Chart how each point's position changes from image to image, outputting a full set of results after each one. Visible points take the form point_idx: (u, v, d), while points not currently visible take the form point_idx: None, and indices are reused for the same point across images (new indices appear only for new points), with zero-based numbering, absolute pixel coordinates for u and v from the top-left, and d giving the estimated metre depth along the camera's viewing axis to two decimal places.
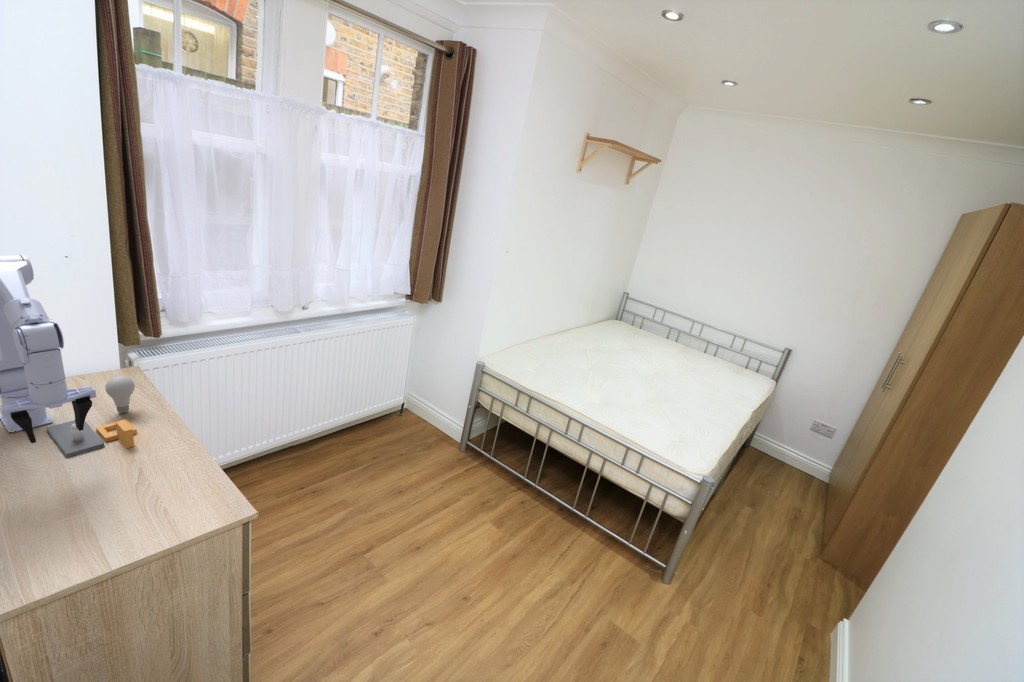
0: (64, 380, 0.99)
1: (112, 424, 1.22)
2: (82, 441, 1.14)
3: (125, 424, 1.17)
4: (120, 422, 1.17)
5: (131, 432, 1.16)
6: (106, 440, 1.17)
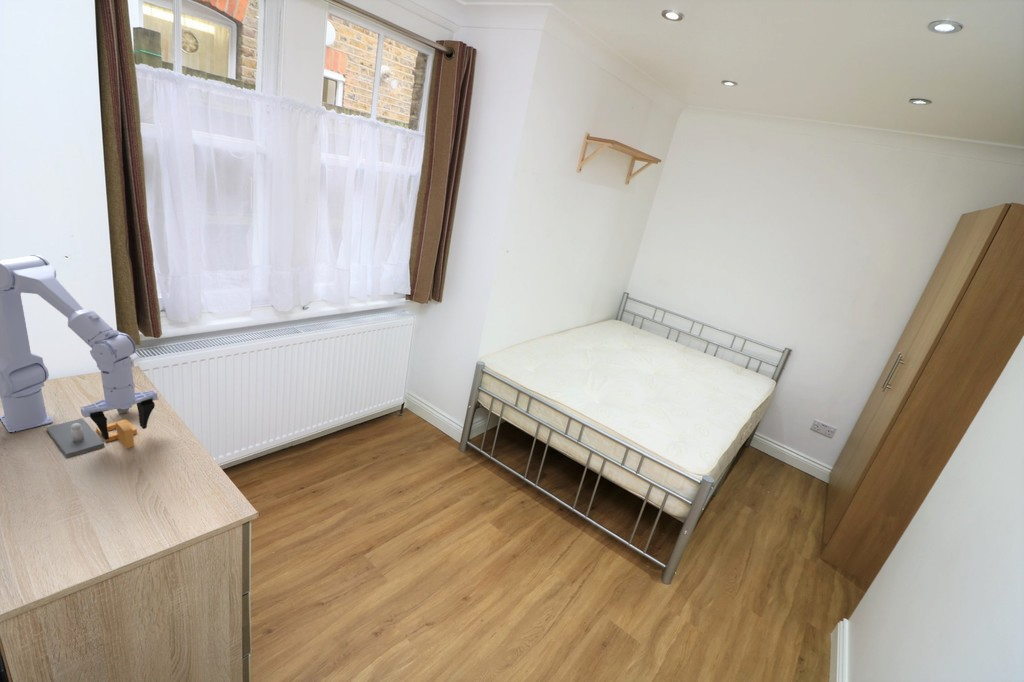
0: (133, 385, 1.14)
1: (112, 424, 1.22)
2: (82, 441, 1.14)
3: (125, 424, 1.17)
4: (120, 422, 1.17)
5: (131, 432, 1.16)
6: (106, 440, 1.17)
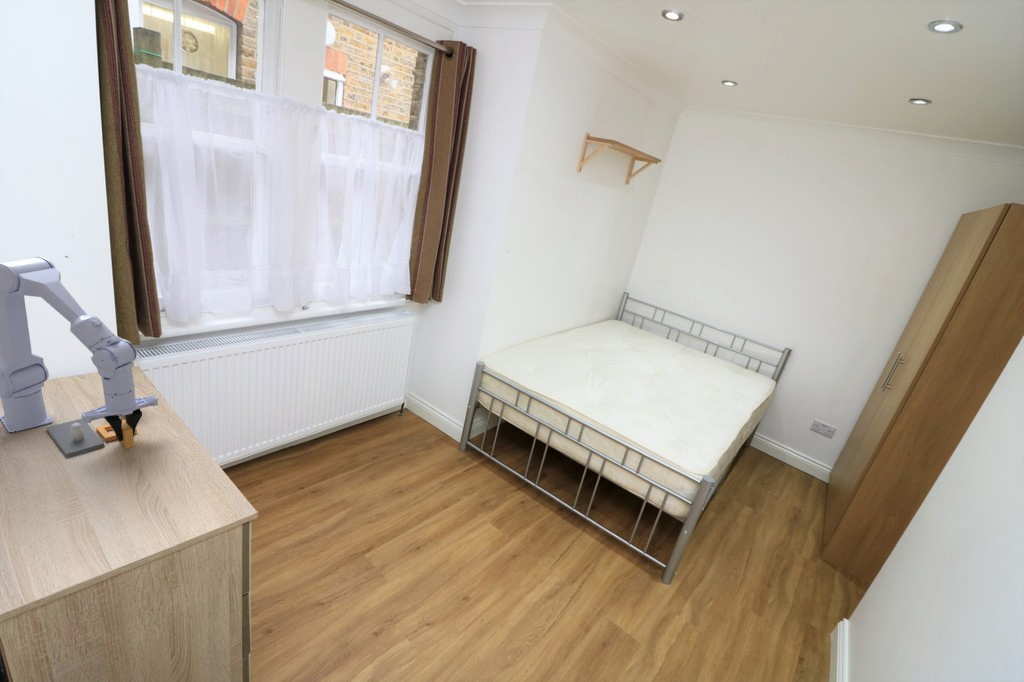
0: (133, 391, 1.15)
1: None
2: (82, 441, 1.14)
3: (125, 424, 1.17)
4: None
5: (131, 432, 1.16)
6: (106, 440, 1.17)
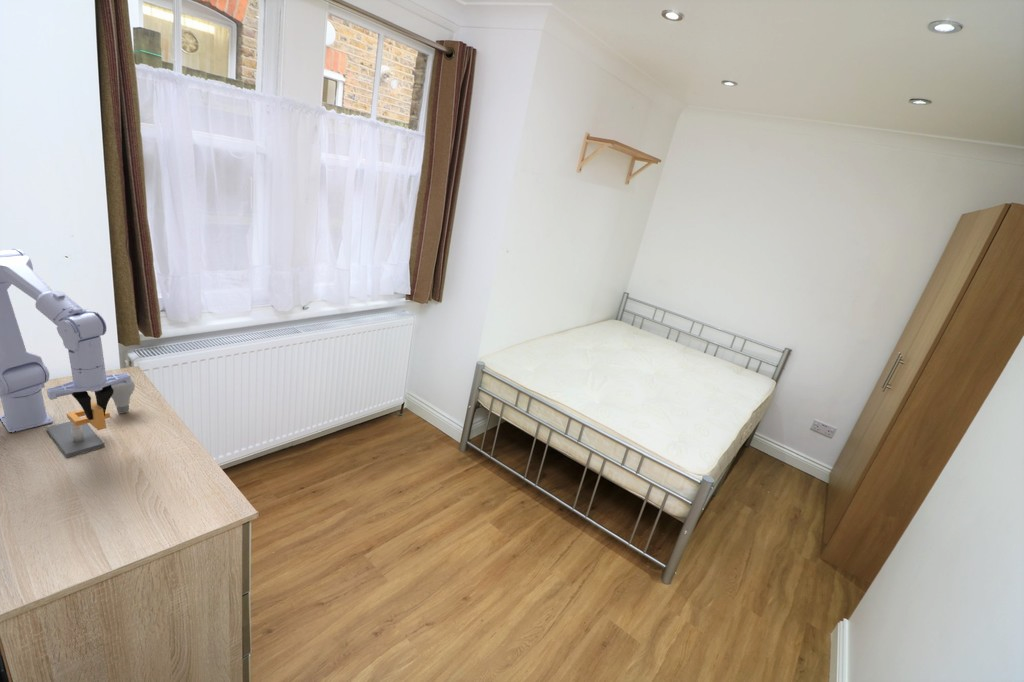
0: (103, 366, 1.08)
1: None
2: (82, 441, 1.14)
3: (96, 405, 1.11)
4: None
5: (102, 412, 1.09)
6: (76, 424, 1.11)
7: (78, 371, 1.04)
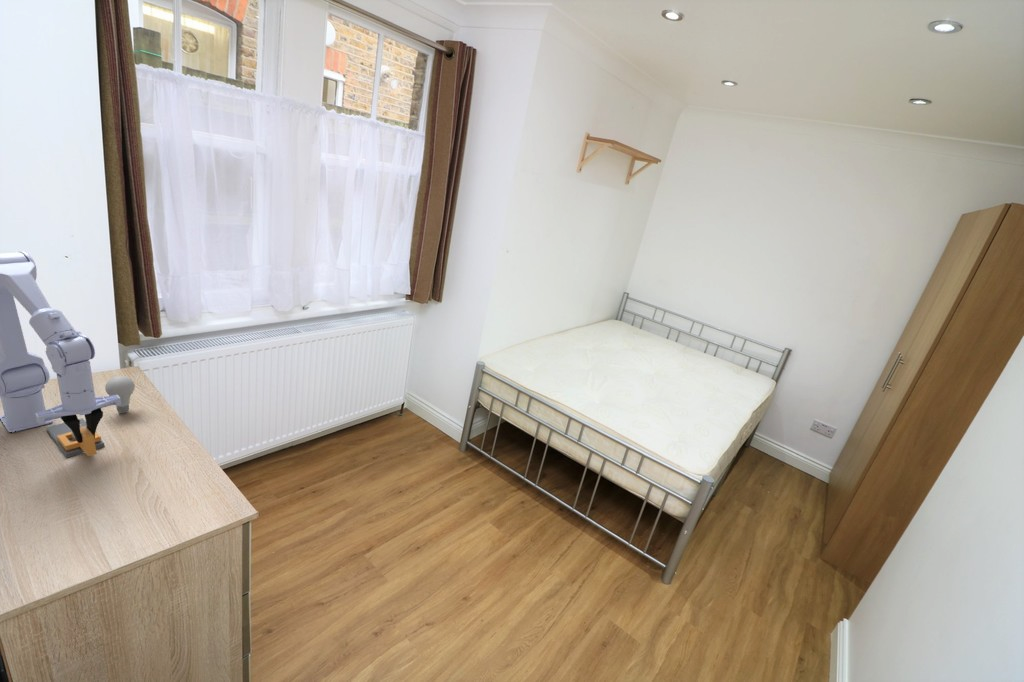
0: (93, 389, 1.08)
1: None
2: None
3: (86, 430, 1.10)
4: (81, 429, 1.10)
5: (92, 438, 1.09)
6: (67, 448, 1.10)
7: (67, 395, 1.04)
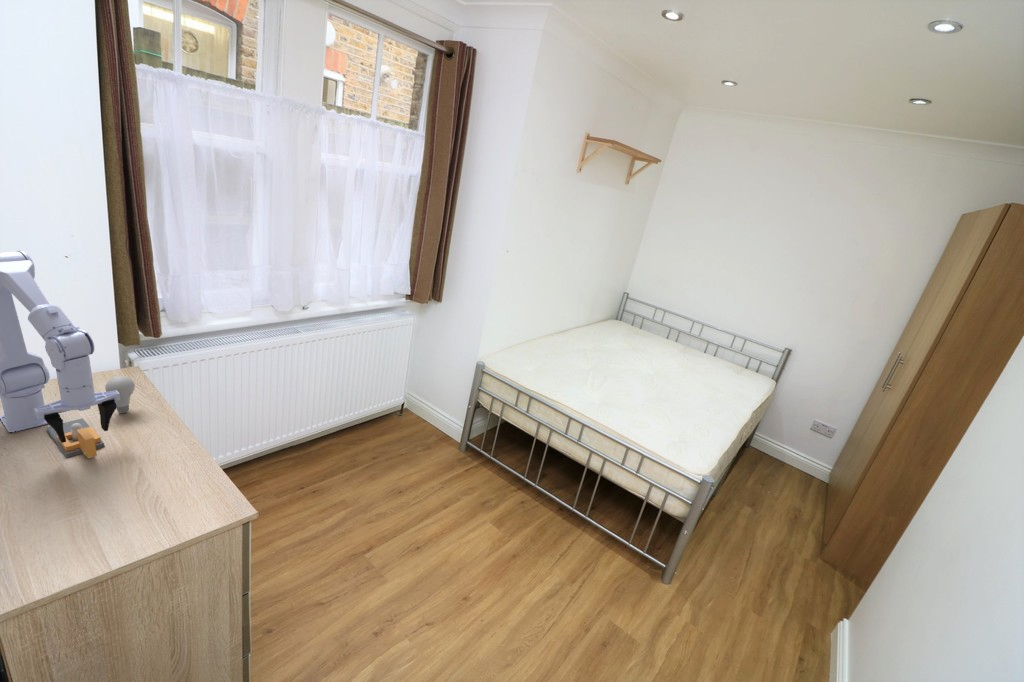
0: (92, 385, 1.07)
1: None
2: None
3: (87, 432, 1.10)
4: (81, 430, 1.11)
5: (93, 441, 1.09)
6: (67, 449, 1.10)
7: (66, 390, 1.03)
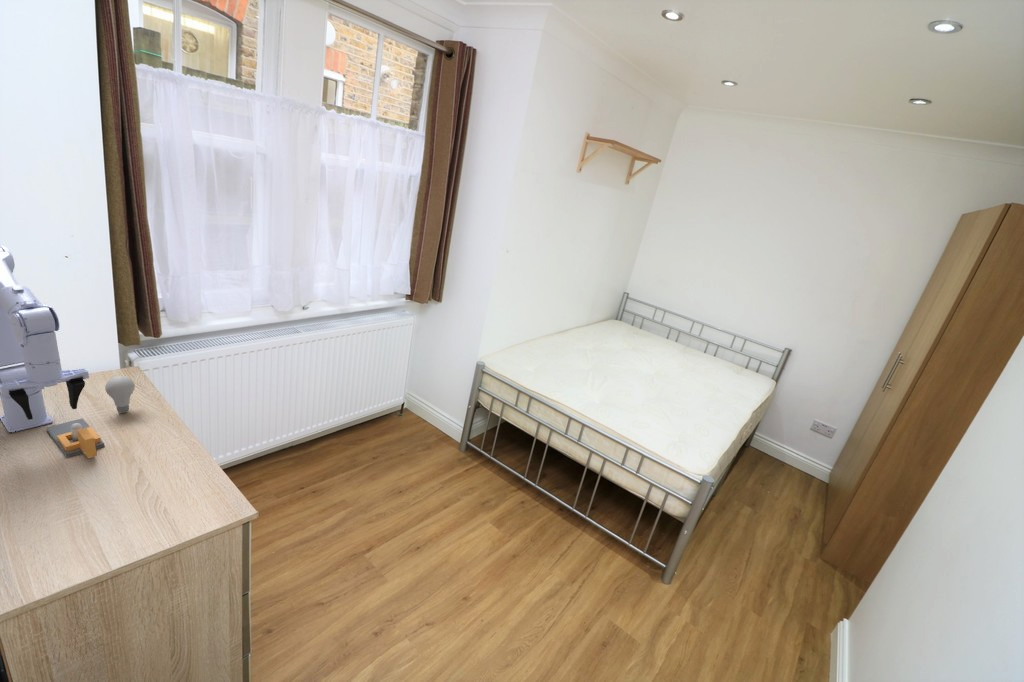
0: (59, 361, 1.06)
1: None
2: None
3: (87, 432, 1.10)
4: (81, 430, 1.11)
5: (93, 441, 1.09)
6: (67, 449, 1.10)
7: (31, 366, 1.03)
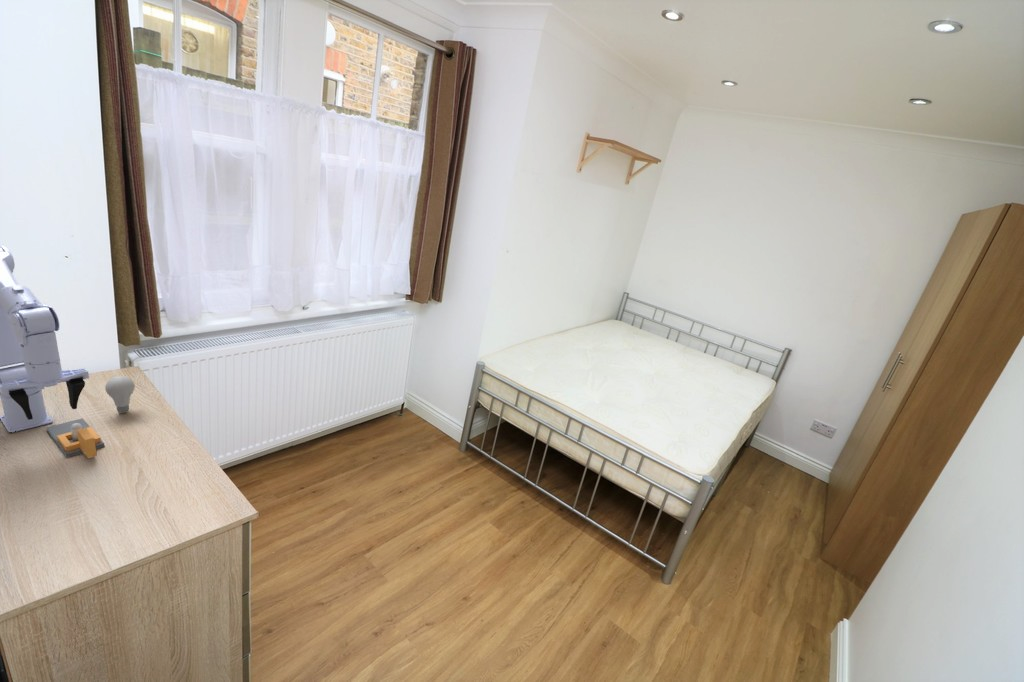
0: (59, 361, 1.06)
1: None
2: None
3: (87, 432, 1.10)
4: (81, 430, 1.11)
5: (93, 441, 1.09)
6: (67, 449, 1.10)
7: (31, 366, 1.03)
